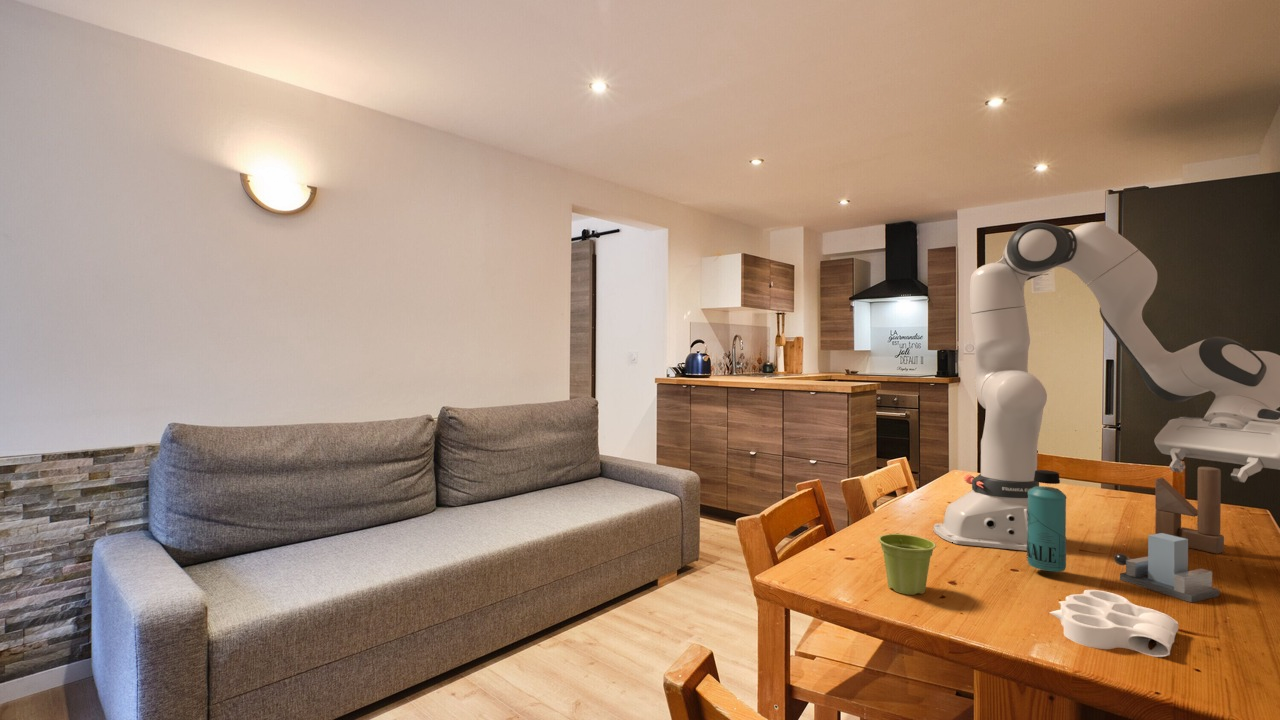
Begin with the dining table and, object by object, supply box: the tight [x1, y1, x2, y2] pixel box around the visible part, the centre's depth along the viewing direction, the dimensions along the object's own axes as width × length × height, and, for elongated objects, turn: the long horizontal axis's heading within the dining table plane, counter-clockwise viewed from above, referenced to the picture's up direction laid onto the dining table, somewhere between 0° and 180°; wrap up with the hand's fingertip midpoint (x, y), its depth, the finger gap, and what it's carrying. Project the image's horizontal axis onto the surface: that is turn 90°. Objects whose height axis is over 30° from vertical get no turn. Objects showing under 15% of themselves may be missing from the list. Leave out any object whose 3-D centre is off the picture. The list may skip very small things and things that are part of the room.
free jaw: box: [1113, 553, 1148, 577], centre depth 113 cm, size 8×6×3 cm
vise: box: [1119, 568, 1220, 603], centre depth 107 cm, size 8×11×4 cm
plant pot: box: [878, 533, 936, 596], centre depth 107 cm, size 9×9×9 cm
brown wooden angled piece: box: [1154, 466, 1225, 555], centre depth 131 cm, size 4×11×18 cm, turn 29°
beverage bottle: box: [1026, 469, 1067, 572], centre depth 114 cm, size 6×7×20 cm
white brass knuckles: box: [1048, 589, 1179, 658], centre depth 91 cm, size 3×18×15 cm
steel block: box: [1147, 533, 1189, 586], centre depth 107 cm, size 4×4×8 cm
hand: (1204, 474), depth 112 cm, fingers open, 8 cm apart
